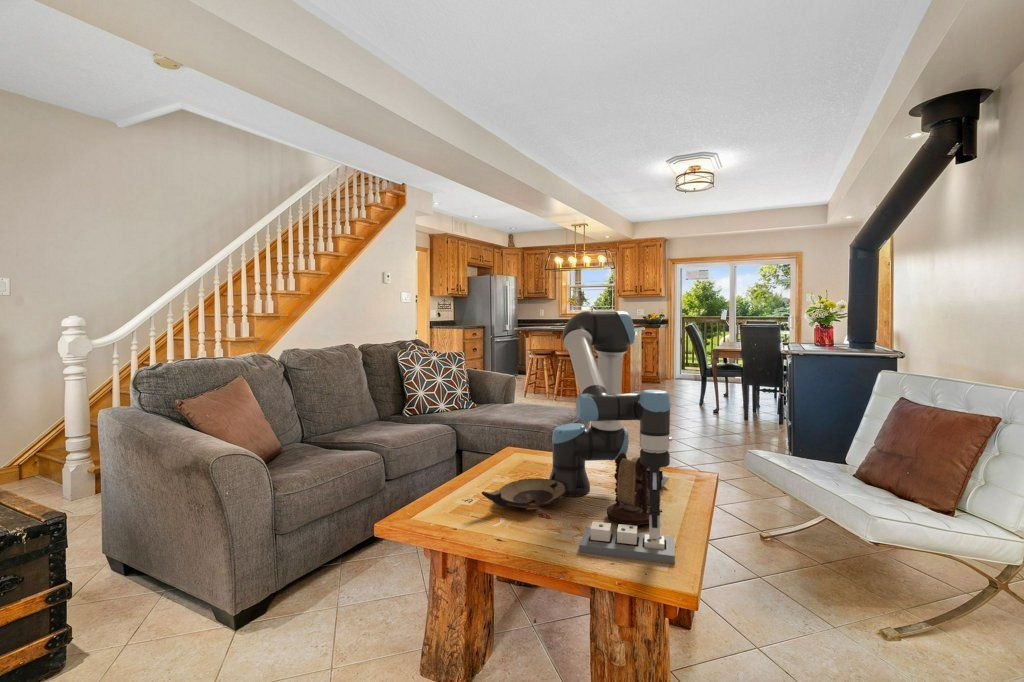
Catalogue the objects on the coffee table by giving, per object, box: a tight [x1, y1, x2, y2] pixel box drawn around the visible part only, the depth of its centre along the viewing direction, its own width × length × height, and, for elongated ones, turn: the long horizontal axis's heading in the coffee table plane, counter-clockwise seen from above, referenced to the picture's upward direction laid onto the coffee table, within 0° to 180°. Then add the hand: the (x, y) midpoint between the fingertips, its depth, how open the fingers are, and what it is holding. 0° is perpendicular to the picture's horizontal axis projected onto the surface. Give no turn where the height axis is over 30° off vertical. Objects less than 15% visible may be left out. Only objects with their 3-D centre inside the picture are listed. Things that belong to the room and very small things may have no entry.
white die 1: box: [590, 521, 612, 543], centre depth 138 cm, size 5×5×3 cm
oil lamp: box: [481, 477, 566, 509], centre depth 168 cm, size 22×30×8 cm
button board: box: [578, 526, 676, 564], centre depth 136 cm, size 24×12×2 cm, turn 74°
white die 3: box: [643, 534, 665, 550], centre depth 134 cm, size 5×5×3 cm
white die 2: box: [616, 523, 638, 546], centre depth 136 cm, size 5×5×3 cm
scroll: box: [606, 453, 650, 529], centre depth 155 cm, size 15×15×20 cm
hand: (654, 537), depth 134 cm, fingers closed
